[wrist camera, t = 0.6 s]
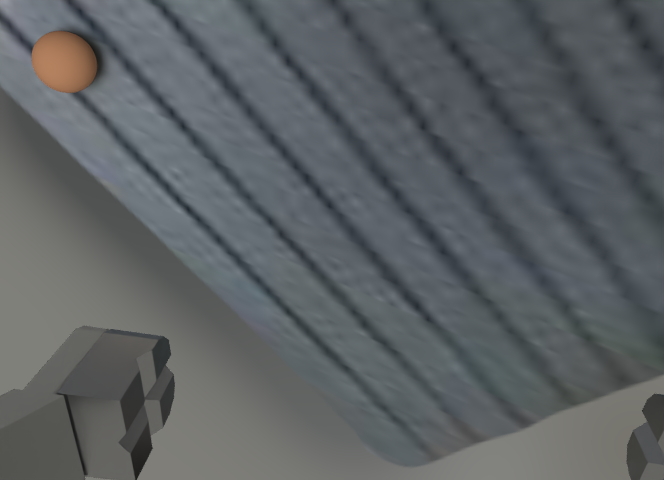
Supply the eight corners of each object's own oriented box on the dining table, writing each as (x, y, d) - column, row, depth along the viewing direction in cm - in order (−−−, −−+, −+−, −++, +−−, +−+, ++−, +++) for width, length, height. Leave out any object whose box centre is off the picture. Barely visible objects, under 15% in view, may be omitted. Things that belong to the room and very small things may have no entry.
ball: (51, 21, 51) (15, 29, 47) (107, 33, 51) (76, 43, 46) (55, 78, 54) (21, 92, 49) (108, 90, 54) (79, 105, 49)
